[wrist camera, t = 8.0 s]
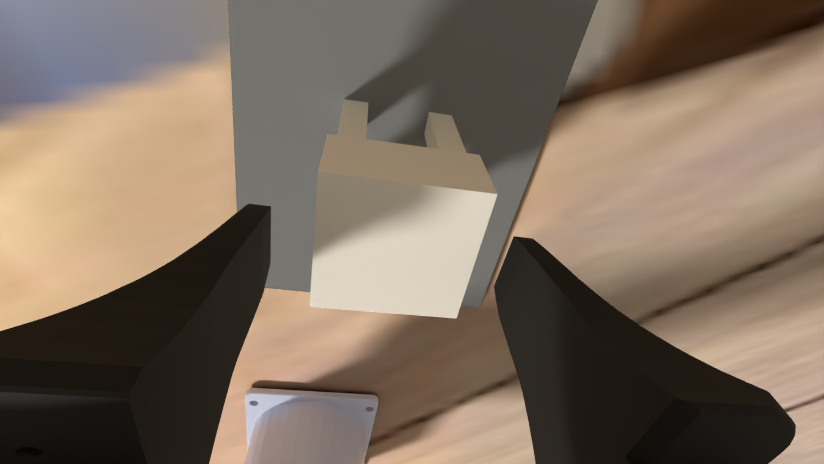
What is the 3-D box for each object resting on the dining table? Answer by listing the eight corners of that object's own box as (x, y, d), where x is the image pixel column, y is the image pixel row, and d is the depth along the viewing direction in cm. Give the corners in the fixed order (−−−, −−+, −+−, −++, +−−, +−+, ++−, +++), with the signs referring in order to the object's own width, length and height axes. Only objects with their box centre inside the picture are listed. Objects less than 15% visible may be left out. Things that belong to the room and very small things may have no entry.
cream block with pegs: (459, 110, 16) (497, 194, 11) (434, 211, 19) (456, 318, 14) (337, 91, 16) (317, 171, 11) (329, 198, 18) (309, 307, 13)
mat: (477, 300, 23) (479, 308, 23) (243, 277, 21) (240, 285, 21) (595, -17, 15) (603, -15, 14) (229, -102, 13) (224, -103, 12)
